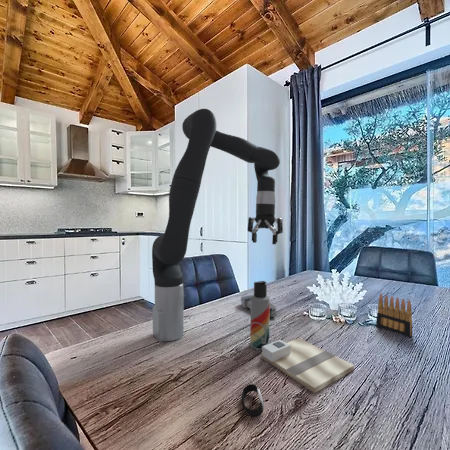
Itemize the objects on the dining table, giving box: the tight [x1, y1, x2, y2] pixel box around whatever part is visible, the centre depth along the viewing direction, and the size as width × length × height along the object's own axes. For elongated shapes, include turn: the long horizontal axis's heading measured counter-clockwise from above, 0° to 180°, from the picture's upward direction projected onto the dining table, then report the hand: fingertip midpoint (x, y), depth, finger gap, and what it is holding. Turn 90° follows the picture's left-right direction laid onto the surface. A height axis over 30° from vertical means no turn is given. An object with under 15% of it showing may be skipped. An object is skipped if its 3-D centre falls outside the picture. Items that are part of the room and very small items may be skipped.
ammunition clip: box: [375, 293, 413, 338], centre depth 92 cm, size 11×2×12 cm, turn 36°
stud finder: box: [261, 339, 291, 362], centre depth 75 cm, size 7×4×3 cm, turn 124°
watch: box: [241, 383, 265, 418], centre depth 57 cm, size 8×5×4 cm, turn 5°
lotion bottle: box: [249, 280, 271, 351], centre depth 81 cm, size 6×6×20 cm
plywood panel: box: [260, 337, 355, 394], centre depth 73 cm, size 16×18×1 cm
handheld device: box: [240, 294, 277, 318], centre depth 111 cm, size 10×20×5 cm, turn 27°
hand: (264, 243), depth 108 cm, fingers open, 8 cm apart
